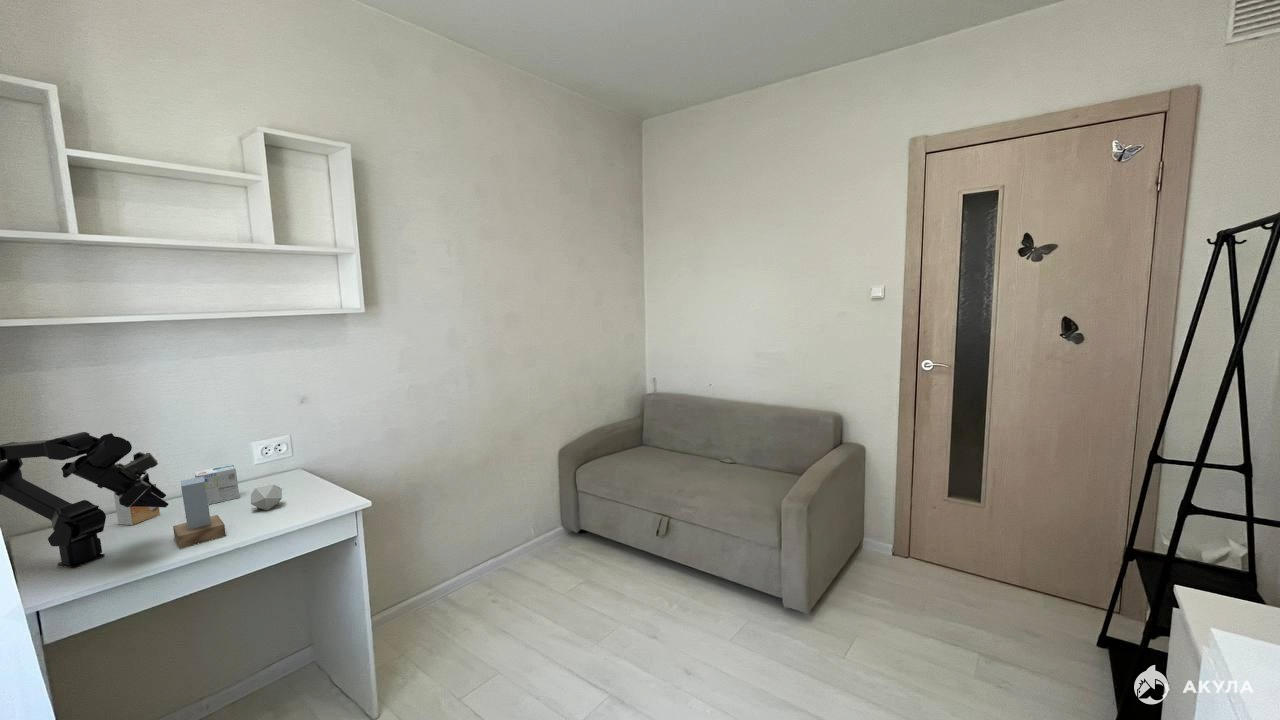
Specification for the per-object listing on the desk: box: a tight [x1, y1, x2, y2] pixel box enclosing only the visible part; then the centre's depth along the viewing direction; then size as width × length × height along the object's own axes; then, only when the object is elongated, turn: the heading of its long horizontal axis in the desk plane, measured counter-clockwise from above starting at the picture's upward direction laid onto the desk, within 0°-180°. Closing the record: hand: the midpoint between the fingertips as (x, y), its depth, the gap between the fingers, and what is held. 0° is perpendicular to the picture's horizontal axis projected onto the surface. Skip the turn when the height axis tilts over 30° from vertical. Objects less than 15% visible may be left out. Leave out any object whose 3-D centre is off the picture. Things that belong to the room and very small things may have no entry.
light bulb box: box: [194, 463, 240, 506], centre depth 176 cm, size 11×7×11 cm, turn 135°
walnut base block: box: [172, 514, 227, 550], centre depth 149 cm, size 10×10×4 cm
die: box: [250, 481, 283, 511], centre depth 169 cm, size 8×9×10 cm
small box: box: [113, 482, 161, 526], centre depth 161 cm, size 8×6×10 cm
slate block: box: [180, 476, 211, 530], centre depth 148 cm, size 5×5×13 cm
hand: (166, 501), depth 144 cm, fingers open, 9 cm apart
